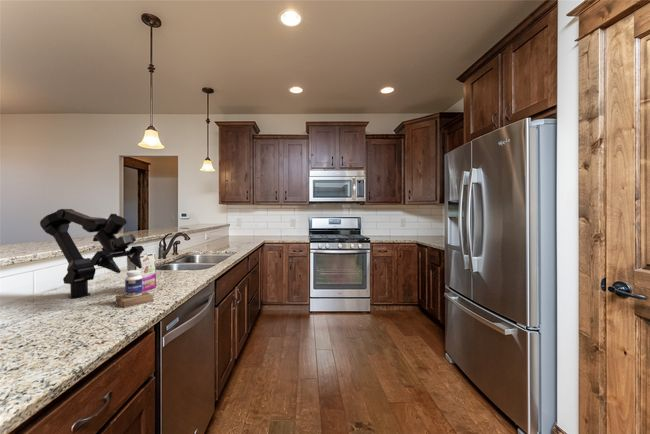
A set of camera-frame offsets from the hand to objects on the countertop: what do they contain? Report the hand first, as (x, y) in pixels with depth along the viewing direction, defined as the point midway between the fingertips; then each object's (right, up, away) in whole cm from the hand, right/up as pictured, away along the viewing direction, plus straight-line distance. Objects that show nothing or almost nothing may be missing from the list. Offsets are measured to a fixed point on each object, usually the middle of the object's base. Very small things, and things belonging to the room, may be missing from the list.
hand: (130, 270), depth 113 cm
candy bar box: (-6, -13, +16) cm, 21 cm away
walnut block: (+2, -13, 0) cm, 13 cm away
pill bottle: (+1, -10, 0) cm, 11 cm away
